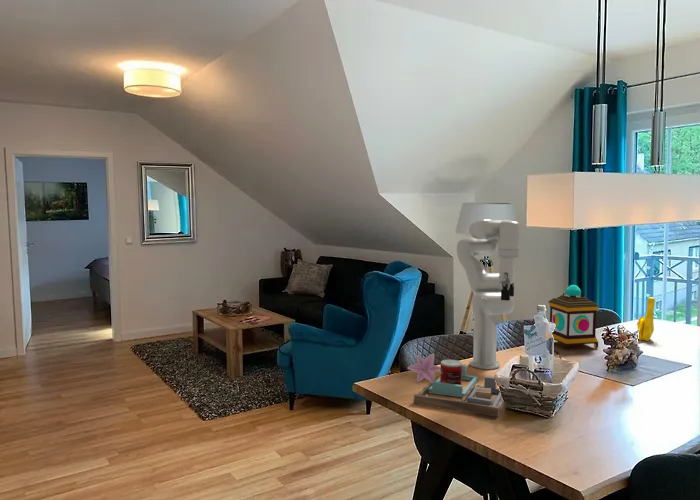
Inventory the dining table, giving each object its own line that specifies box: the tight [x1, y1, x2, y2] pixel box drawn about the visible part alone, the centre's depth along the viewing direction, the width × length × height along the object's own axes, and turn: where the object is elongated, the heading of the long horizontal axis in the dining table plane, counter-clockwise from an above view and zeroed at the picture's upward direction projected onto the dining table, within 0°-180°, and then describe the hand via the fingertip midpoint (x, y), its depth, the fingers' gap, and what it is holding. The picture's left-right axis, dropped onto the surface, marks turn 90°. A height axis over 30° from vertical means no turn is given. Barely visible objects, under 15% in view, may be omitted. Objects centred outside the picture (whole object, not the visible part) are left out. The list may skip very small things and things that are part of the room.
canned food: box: [439, 359, 463, 385], centre depth 209 cm, size 8×8×11 cm
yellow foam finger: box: [636, 296, 656, 342], centre depth 284 cm, size 18×8×22 cm, turn 142°
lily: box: [407, 352, 441, 383], centre depth 223 cm, size 12×12×10 cm
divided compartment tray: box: [413, 379, 505, 418], centre depth 200 cm, size 22×29×3 cm
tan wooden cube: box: [475, 386, 492, 400], centre depth 196 cm, size 5×5×5 cm
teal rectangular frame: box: [428, 363, 479, 399], centre depth 214 cm, size 22×13×6 cm, turn 155°
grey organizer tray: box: [465, 375, 502, 406], centre depth 199 cm, size 22×10×6 cm, turn 155°
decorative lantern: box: [548, 284, 600, 352], centre depth 273 cm, size 20×20×30 cm
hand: (507, 298), depth 216 cm, fingers open, 9 cm apart
